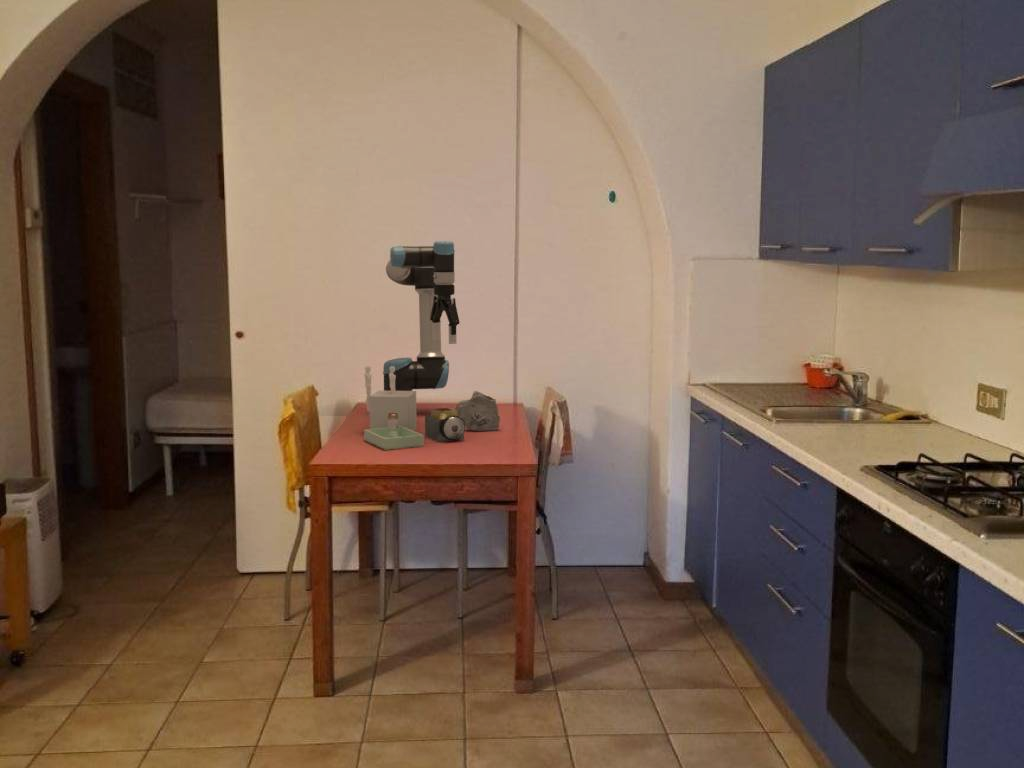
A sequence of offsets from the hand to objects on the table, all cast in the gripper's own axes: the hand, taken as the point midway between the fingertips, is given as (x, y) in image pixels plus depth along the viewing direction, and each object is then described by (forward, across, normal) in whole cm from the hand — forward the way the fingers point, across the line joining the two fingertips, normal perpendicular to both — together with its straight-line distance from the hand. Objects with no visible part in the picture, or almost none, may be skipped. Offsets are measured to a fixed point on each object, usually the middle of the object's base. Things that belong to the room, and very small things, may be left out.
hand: (444, 342), depth 371 cm
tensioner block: (+34, +8, -3) cm, 35 cm away
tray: (+34, +6, -23) cm, 42 cm away
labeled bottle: (+34, +6, -23) cm, 41 cm away
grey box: (+35, -15, -16) cm, 41 cm away
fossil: (+35, -1, +14) cm, 37 cm away
